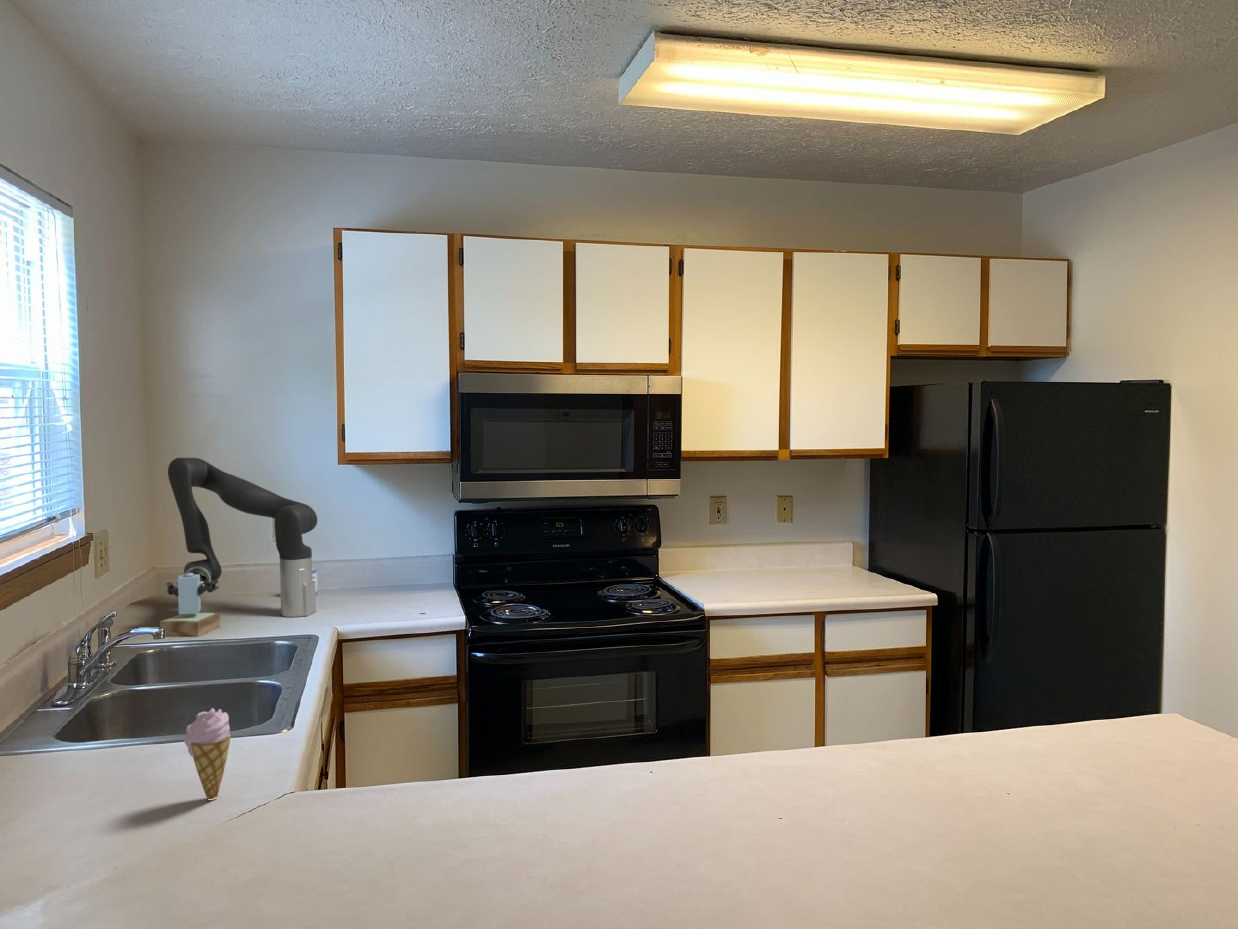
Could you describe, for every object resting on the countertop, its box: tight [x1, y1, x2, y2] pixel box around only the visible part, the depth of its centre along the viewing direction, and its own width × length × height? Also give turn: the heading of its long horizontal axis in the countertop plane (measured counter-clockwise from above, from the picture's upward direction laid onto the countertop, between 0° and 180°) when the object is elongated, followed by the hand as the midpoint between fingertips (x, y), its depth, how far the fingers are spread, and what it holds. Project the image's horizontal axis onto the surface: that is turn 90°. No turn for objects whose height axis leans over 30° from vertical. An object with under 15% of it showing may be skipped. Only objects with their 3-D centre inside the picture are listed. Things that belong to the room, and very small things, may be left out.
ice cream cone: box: [183, 707, 232, 799], centre depth 141 cm, size 7×6×15 cm
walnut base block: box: [159, 612, 221, 638], centre depth 248 cm, size 11×11×4 cm
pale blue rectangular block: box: [177, 573, 202, 614], centre depth 248 cm, size 5×5×11 cm
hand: (188, 592), depth 245 cm, fingers closed on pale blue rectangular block, 5 cm apart
